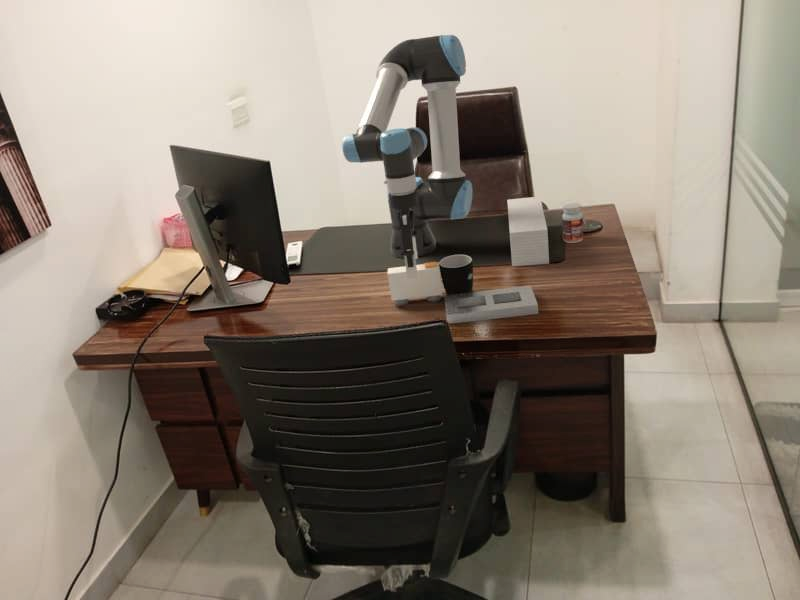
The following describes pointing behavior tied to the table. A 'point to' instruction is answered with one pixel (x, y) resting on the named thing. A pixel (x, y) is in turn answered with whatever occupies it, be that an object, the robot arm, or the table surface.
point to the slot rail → (490, 304)
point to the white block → (415, 283)
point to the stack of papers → (528, 232)
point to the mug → (457, 274)
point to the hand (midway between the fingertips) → (412, 268)
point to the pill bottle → (572, 223)
